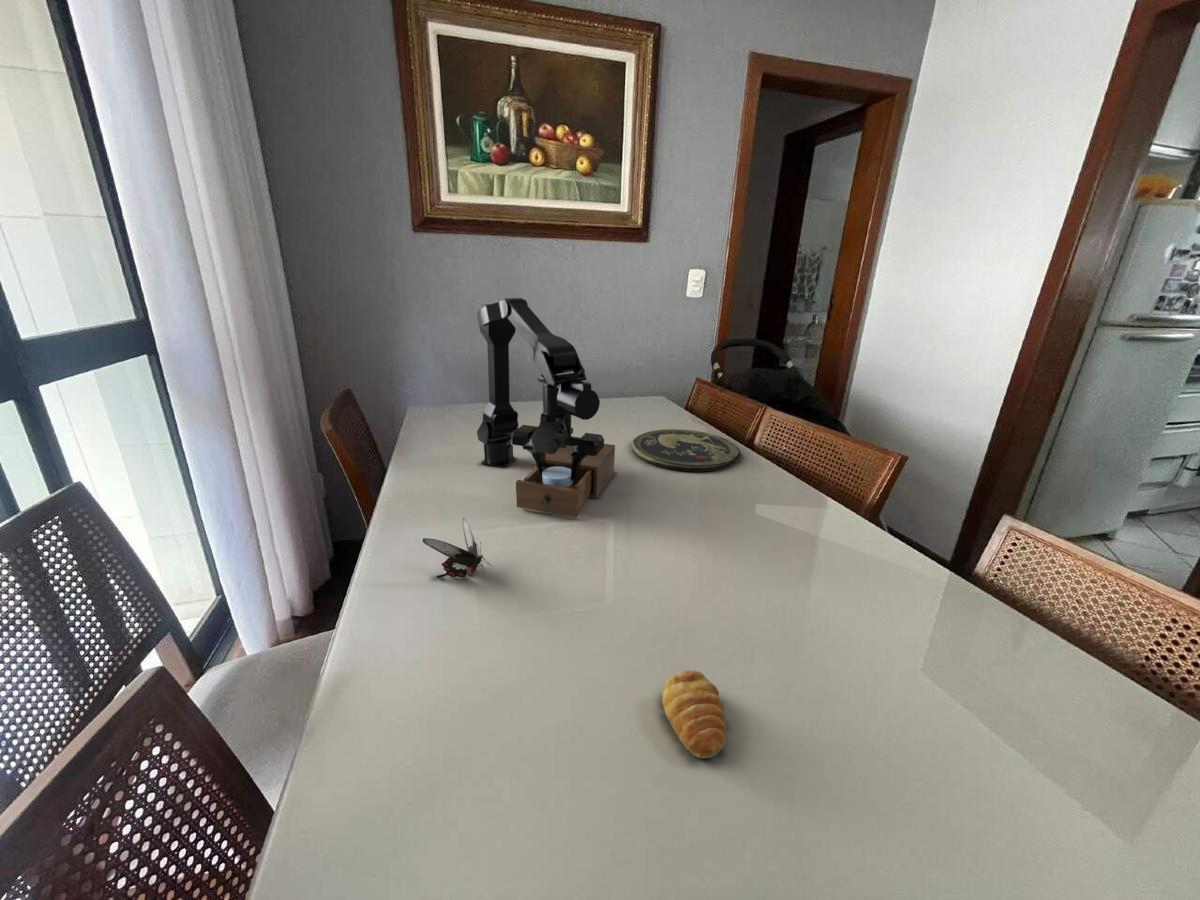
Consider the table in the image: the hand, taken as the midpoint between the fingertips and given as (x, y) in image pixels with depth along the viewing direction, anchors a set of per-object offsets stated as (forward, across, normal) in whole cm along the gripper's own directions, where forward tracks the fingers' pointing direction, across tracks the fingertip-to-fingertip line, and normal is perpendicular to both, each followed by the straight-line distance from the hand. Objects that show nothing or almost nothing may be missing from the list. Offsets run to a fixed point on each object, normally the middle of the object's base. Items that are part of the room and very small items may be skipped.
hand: (557, 477), depth 104 cm
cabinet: (+6, 0, +12) cm, 13 cm away
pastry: (+6, +35, -45) cm, 57 cm away
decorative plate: (+6, +22, +41) cm, 47 cm away
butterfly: (+6, -5, -31) cm, 32 cm away
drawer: (+5, 0, 0) cm, 5 cm away
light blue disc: (+1, 0, 0) cm, 1 cm away
